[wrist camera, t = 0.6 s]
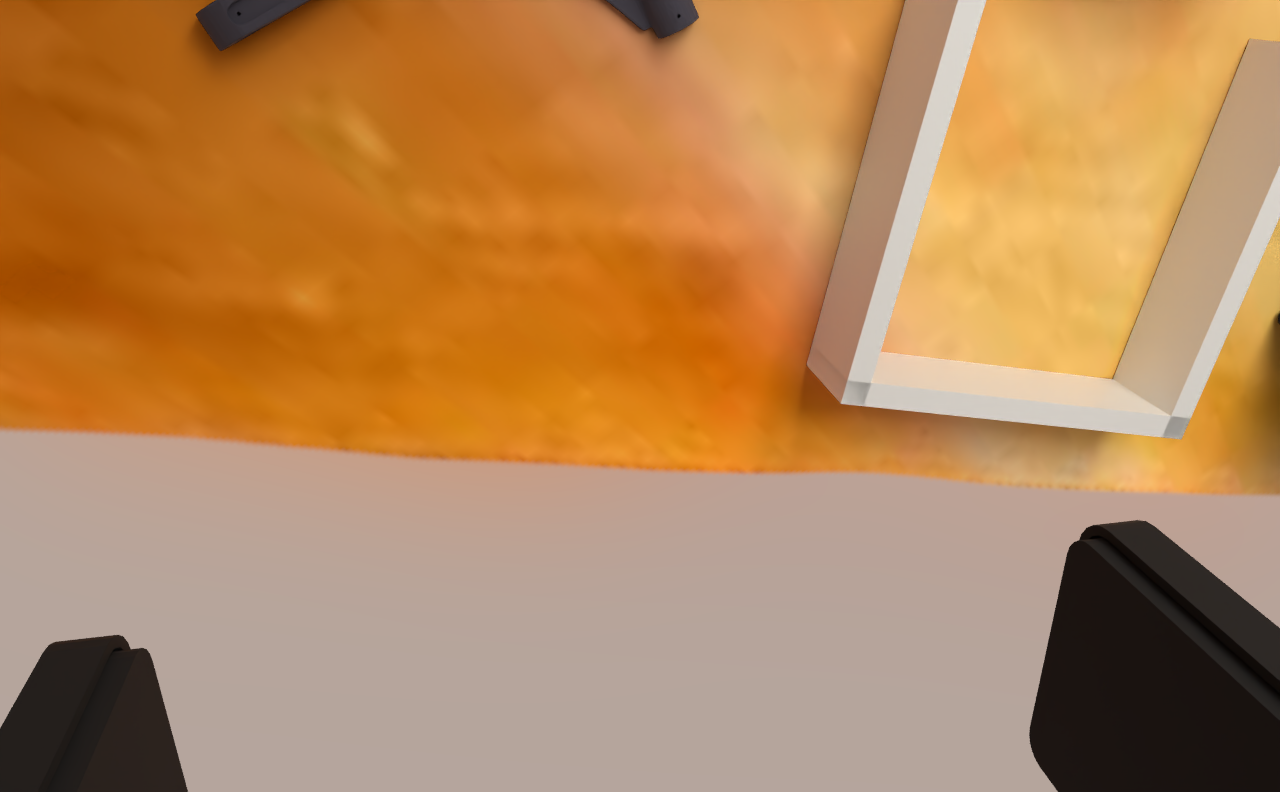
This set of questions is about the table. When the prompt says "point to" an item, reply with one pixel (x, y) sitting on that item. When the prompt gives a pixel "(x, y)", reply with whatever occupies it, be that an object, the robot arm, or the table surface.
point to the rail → (1173, 308)
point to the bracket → (257, 3)
